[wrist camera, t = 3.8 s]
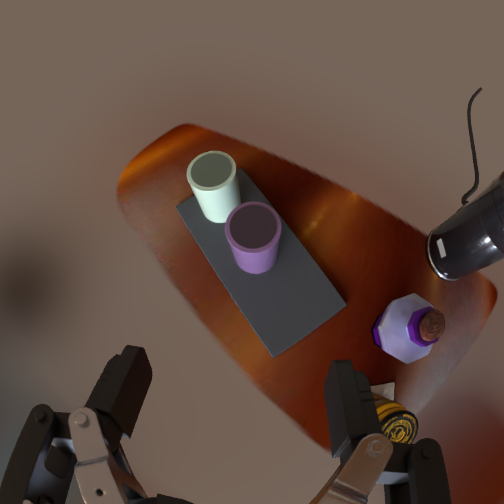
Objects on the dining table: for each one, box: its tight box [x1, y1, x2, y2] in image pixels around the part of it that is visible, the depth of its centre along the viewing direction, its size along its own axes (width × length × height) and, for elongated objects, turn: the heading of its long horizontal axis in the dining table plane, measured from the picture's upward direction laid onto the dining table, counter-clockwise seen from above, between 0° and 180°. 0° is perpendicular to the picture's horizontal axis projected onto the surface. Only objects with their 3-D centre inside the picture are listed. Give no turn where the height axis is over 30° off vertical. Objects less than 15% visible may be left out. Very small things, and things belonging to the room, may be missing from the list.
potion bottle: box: [371, 293, 445, 364], centre depth 28 cm, size 9×9×12 cm
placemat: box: [176, 168, 347, 358], centre depth 38 cm, size 12×26×1 cm, turn 34°
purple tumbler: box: [225, 202, 282, 274], centre depth 33 cm, size 6×6×9 cm
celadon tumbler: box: [187, 151, 242, 223], centre depth 36 cm, size 6×6×9 cm
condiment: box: [370, 382, 418, 444], centre depth 25 cm, size 7×8×12 cm
